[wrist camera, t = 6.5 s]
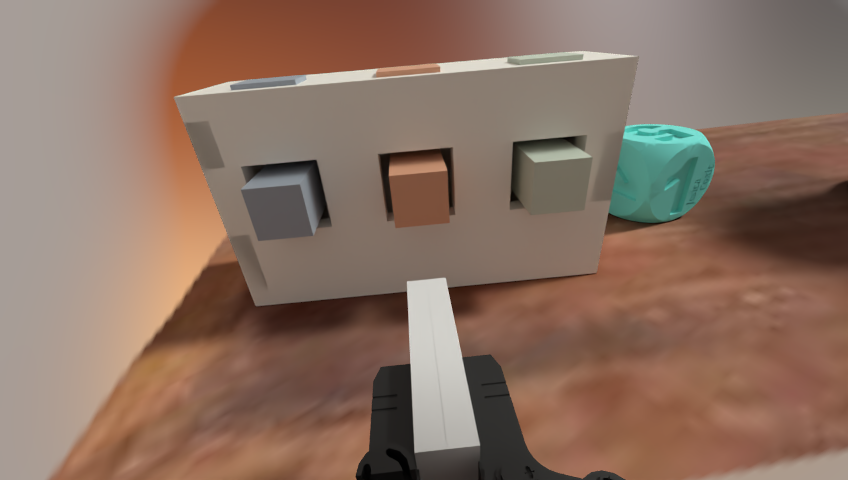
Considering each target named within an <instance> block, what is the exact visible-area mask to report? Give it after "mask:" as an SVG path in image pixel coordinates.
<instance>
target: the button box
mask: <svg viewBox="0 0 848 480" xmlns="http://www.w3.org/2000/svg"><path fill="white" fill-rule="evenodd" d="M638 59H639V56H630V55H619V54H607V53H596V52H586V51H576V52H562V53H550V54H539V55H527V56H515V57H507V58H497V59H486V60H474V61H463V62H451V63H439V64H436V63H435V64H424V65H413V66H402V67H390V68H379V69H370V70H360V71H348V72H336V73H325V74H313V75H298V76H287V77H275V78H264V79H252V80H244V81H233V82H227V83H223V84H219V85H216V86H212V87H209V88H205V89H201V90H198V91H194V92H190V93H187V94H183V95H180V96H176V97H174V99H175V101H176V104H177V107H178V109H179V112H180V114H181V117H182V119H183V122H184V124H185V127H186V130H187V132H188V135H189V137H190V140H191V142H192V145H193V147H194V150H195V152H196V155H197V158H198V160H199V163H200V165H201V168H202V170H203V173H204V175H205V178H206V181H207V183H208V186H209V188H210V191H211V193H212V196H213V198H214V201H215V204H216V206H217V209H218V211H219V214H220V216H221V219H222V221H223V224H224V227H225V229H226V232H227V234H228V237H229V239H230V242H231V244H232V247H233V250H234V252H235V255H236V257H237V260H238V262H239V265H240V267H241V270H242V273H243V275H244V278H245V280H246V283H247V285H248V288H249V290H250V293H251V295H252V298H253V301H254V303H255V306H264V305H275V304H285V303H295V302H305V301H315V300H326V299H336V298H346V297H356V296H367V295H377V294H387V293H397V292H407V281H417V280H427V279H437V278H446V282H447V287H458V286H469V285H479V284H489V283H499V282H510V281H520V280H530V279H540V278H550V277H561V276H571V275H581V274H591V273H597V268H598V263H599V258H600V253H601V248H602V243H603V238H604V233H605V227H606V222H607V217H608V212H609V207H610V202H611V197H612V192H613V187H614V182H615V177H616V171H617V166H618V161H619V156H620V151H621V146H622V141H623V136H624V131H625V125H626V120H627V114H628V110H629V105H630V100H631V95H632V89H633V85H634V80H635V74H636V69H637V64H638ZM559 137H562V138H563V139H565V140H566V141H568V142H569V143H571V144H573V145H574V146H576V147H577V148H579V149H581V150H582V151H584V152H585V153H587V154H589V155H590V156H592V157H593V159H592V165H591V171H590V178H589V184H588V190H587V197H586V203H585V209H584V210H581V211H571V212H560V213H550V214H539V215H530V214H529V212H528V211H527V210H526V208H525V207H524V205H523V204H522V203H521V201H520V200H519V199H518V197H517V196H516V195H515V193H514V192H513V190H512V189H511V172H512V151H513V142H515V141H526V140H537V139H548V138H559ZM428 149H440V152H441V154H442V157H443V160H444V163H445V165H446V168H447V173H448V196H449V218H450V223H444V224H434V225H423V226H412V227H402V228H395V221H394V213H393V206H392V198H391V190H390V182H389V164H390V153H395V152H406V151H417V150H428ZM307 160H316V161H317V165H318V170H319V174H320V179H321V183H322V187H323V192H324V196H325V201H326V207H325V210H324V212H323V214H322V217H321V219H320V221H319V224H318V226H317V228H316V231H315V233H314V236H307V237H296V238H286V239H275V240H265V241H258V239H257V236H256V233H255V230H254V227H253V224H252V221H251V218H250V216H249V213H248V210H247V207H246V204H245V201H244V198H243V195H242V193H241V189H242V188H243V187H244V186H245V185H246V184H247V183H248V182H249V181H250V180H251V179H252V178H253V177H254V176H255V175H256V174H257V173H258V172H259V171H260V170H261V169H262V168H263V167H264V166H265V165H266V164H275V163H285V162H296V161H307Z"/></svg>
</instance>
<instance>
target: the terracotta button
mask: <svg viewBox="0 0 848 480" xmlns="http://www.w3.org/2000/svg"><path fill="white" fill-rule="evenodd" d="M389 182H390V190H391V198H392V206H393V213H394V221H395V228H402V227H412V226H423V225H434V224H444V223H450V218H449V196H448V173H447V168H446V165H445V163H444V160H443V157H442V154H441V152H440V149H428V150H417V151H406V152H395V153H390V164H389Z"/></svg>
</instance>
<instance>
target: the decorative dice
mask: <svg viewBox="0 0 848 480" xmlns="http://www.w3.org/2000/svg"><path fill="white" fill-rule="evenodd" d="M714 167H715V158H714V154H713V150H712V148H711V146H710V144H709V142H708V140H707V139H706V137H705V136H704V135H703V134H702V133H701V132H699V131H696V130H694V129H690V128H685V127H679V126H672V125H659V124H641V125H631V126H625V131H624V136H623V141H622V146H621V151H620V156H619V161H618V166H617V171H616V177H615V182H614V187H613V192H612V197H611V202H610V207H609V212H608V213H610V214H612V215H614V216H617V217H619V218H623V219H626V220H631V221H636V222H646V223H659V222H667V221H671V220H674V219H676V218H678V217H680V216H682V215H684V214H685V213H687V212H688V211H689V210H690V209H691V208H693V207H694V206H695V205H696V203H697V202H698V201H699V200H700V199H701V197H702V196H703V195H704V193H705V191H706V190H707V188H708V186H709V184H710V182H711V179H712V176H713V173H714Z"/></svg>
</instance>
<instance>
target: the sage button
mask: <svg viewBox="0 0 848 480" xmlns="http://www.w3.org/2000/svg"><path fill="white" fill-rule="evenodd" d="M592 159H593V157H592V156H590V155H589V154H587V153H585V152H584V151H582V150H581V149H579V148H577V147H576V146H574V145H573V144H571V143H569V142H568V141H566V140H565V139H563V138H562V137H559V138H548V139H537V140H526V141H515V142H513V151H512V172H511V189H512V190H513V192H514V193H515V195H516V196H517V197H518V199H519V200H520V201H521V203H522V204H523V205H524V207H525V208H526V210H527V211H528V212H529V214H530V215H539V214H550V213H560V212H571V211H581V210H584V209H585V203H586V197H587V190H588V184H589V178H590V171H591V165H592Z"/></svg>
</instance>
